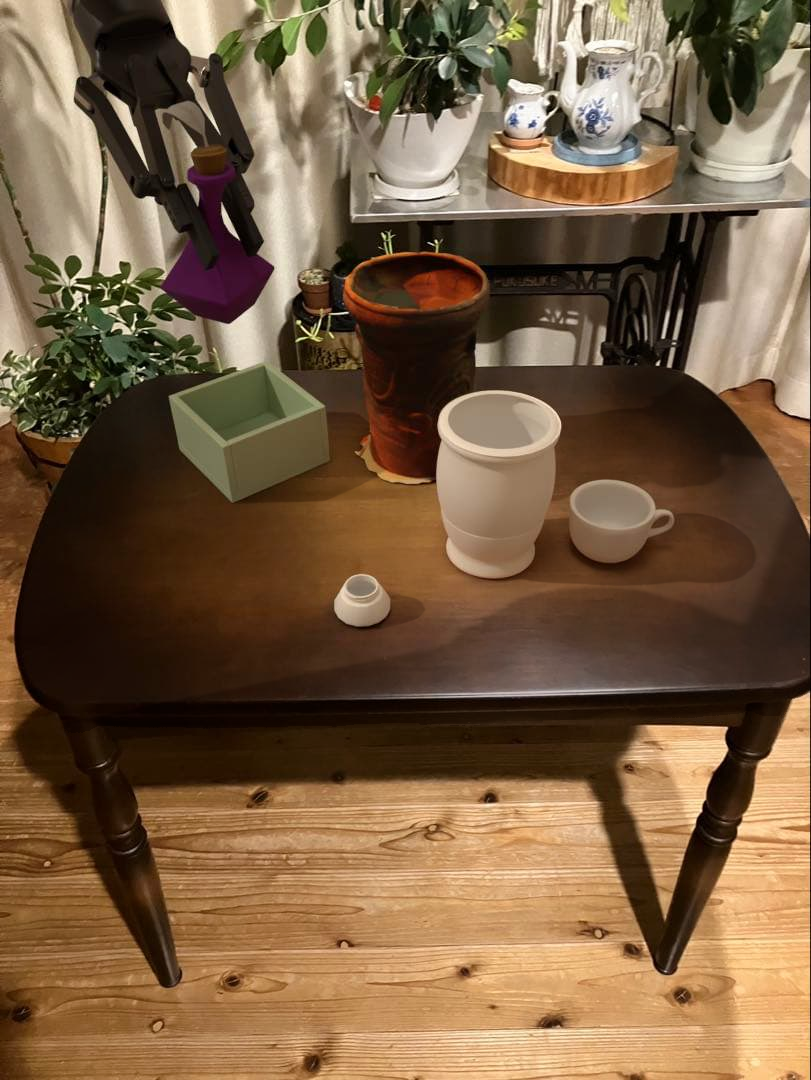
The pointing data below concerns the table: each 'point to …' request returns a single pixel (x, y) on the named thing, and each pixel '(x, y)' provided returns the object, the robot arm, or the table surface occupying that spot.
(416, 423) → the vessel
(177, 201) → the robot arm
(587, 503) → the teacup
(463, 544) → the jar
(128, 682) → the table surface
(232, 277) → the perfume bottle
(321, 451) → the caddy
